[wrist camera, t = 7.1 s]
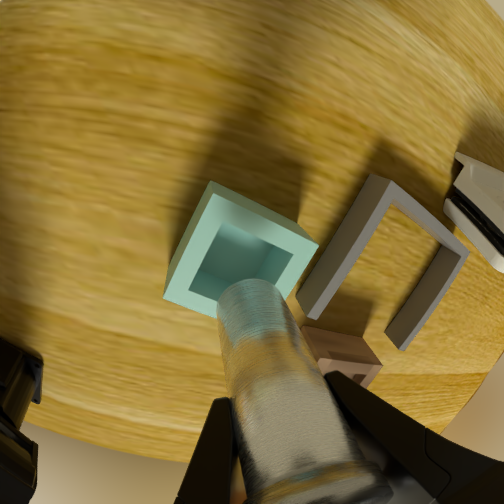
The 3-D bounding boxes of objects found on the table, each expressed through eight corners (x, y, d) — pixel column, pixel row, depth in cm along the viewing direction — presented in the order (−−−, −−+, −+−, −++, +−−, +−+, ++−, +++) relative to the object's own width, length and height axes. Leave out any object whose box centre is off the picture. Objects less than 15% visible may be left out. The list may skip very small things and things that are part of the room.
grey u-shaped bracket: (389, 334, 25) (403, 351, 22) (295, 296, 21) (306, 316, 19) (451, 240, 22) (470, 251, 20) (370, 173, 19) (391, 180, 16)
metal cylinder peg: (264, 348, 13) (329, 537, 5) (198, 325, 12) (219, 547, 4) (302, 291, 13) (420, 481, 4) (233, 261, 12) (309, 499, 3)
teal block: (251, 299, 21) (262, 334, 17) (168, 265, 19) (162, 298, 15) (296, 222, 19) (319, 245, 16) (210, 179, 17) (213, 193, 14)
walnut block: (327, 385, 26) (342, 416, 22) (269, 379, 24) (281, 414, 21) (361, 335, 24) (383, 365, 21) (301, 323, 22) (320, 357, 19)
